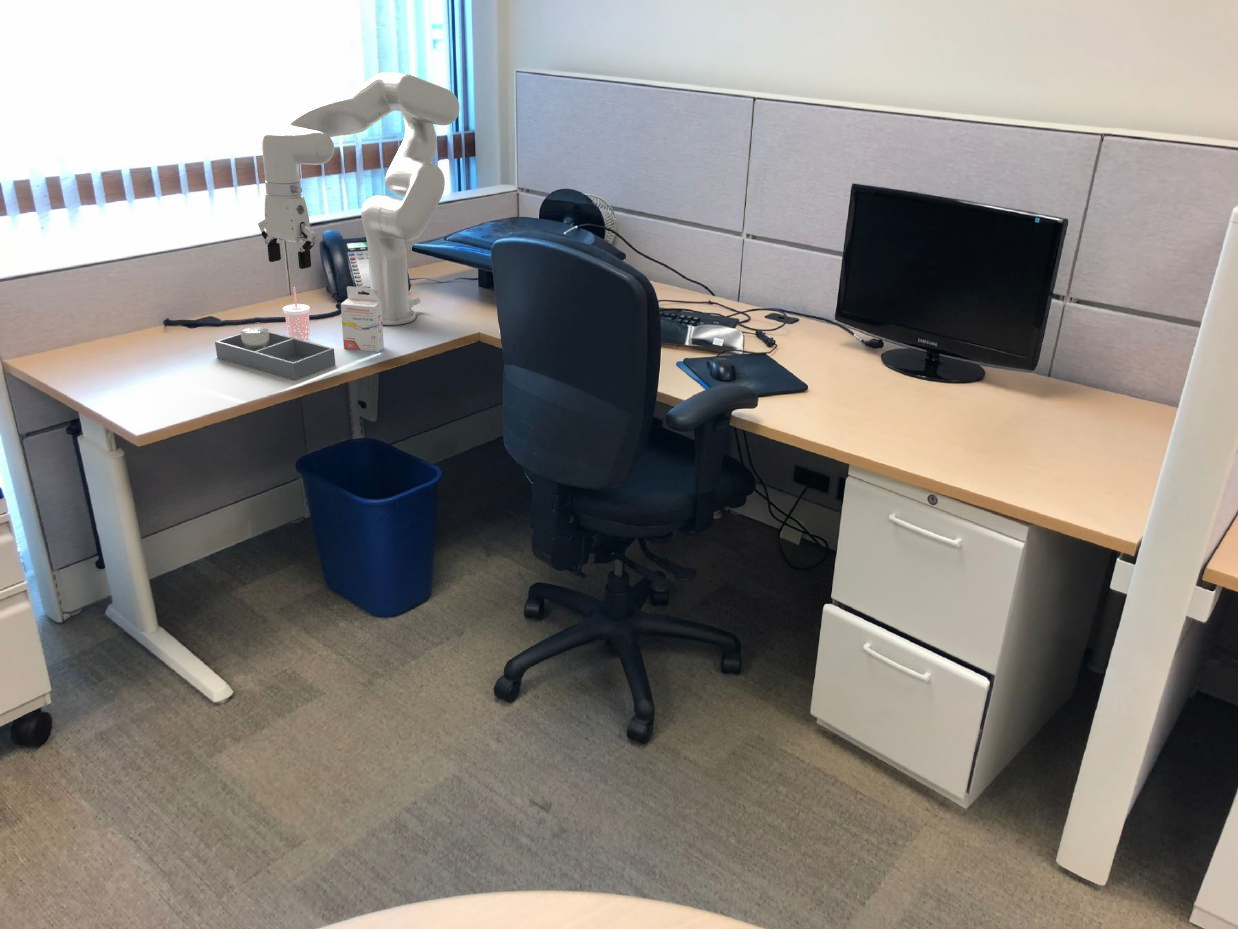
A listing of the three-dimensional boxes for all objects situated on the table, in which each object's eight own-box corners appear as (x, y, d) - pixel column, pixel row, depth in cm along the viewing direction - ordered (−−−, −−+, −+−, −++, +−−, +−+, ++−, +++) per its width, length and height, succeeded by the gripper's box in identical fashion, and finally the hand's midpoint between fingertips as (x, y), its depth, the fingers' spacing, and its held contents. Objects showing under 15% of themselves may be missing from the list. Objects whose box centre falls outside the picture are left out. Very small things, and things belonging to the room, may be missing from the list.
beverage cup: (318, 342, 242) (313, 286, 236) (299, 349, 237) (293, 292, 231) (300, 337, 245) (294, 282, 239) (281, 344, 240) (274, 287, 234)
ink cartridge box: (343, 351, 237) (338, 291, 231) (350, 344, 242) (345, 285, 235) (378, 354, 237) (374, 293, 230) (384, 347, 241) (381, 287, 235)
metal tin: (258, 349, 234) (255, 325, 231) (276, 355, 231) (274, 330, 229) (238, 356, 229) (234, 331, 227) (256, 362, 227) (253, 336, 224)
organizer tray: (259, 346, 238) (256, 327, 236) (335, 367, 228) (334, 348, 226) (217, 360, 229) (214, 341, 227) (295, 383, 218) (293, 363, 216)
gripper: (324, 192, 224) (329, 267, 231) (269, 182, 232) (275, 255, 239) (298, 196, 218) (305, 273, 225) (243, 186, 226) (251, 261, 233)
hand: (290, 264), depth 232 cm, fingers open, 9 cm apart
